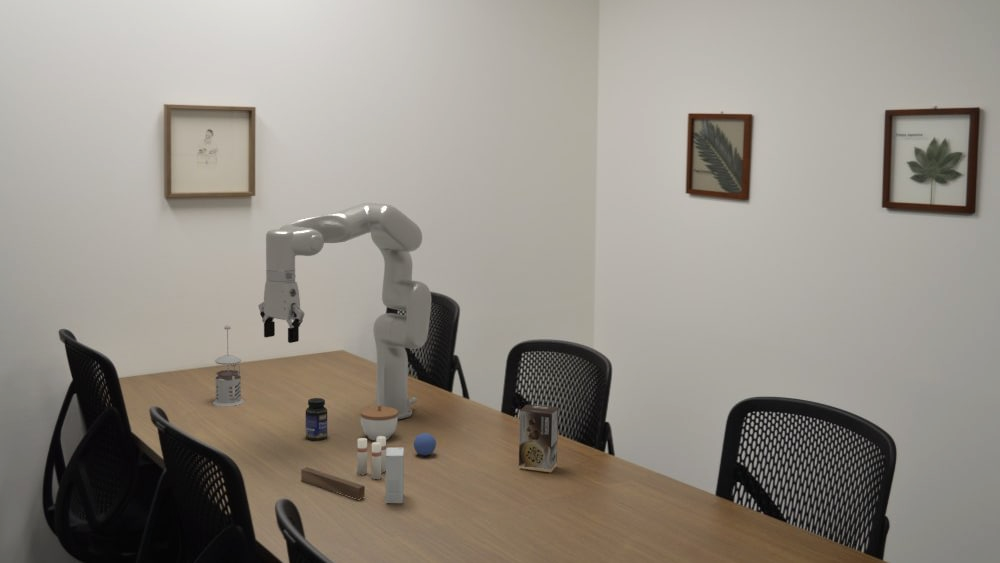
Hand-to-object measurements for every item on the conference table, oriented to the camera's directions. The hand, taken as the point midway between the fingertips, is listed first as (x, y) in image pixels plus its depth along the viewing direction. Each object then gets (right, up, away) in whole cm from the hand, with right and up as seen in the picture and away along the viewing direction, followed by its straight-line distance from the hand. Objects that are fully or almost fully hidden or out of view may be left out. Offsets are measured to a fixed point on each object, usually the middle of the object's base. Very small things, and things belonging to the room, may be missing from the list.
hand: (281, 339), depth 259 cm
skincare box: (+34, -37, -29) cm, 58 cm away
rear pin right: (+23, -34, -12) cm, 43 cm away
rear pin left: (+27, -34, -15) cm, 46 cm away
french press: (-28, -23, +50) cm, 61 cm away
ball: (+38, -29, +3) cm, 48 cm away
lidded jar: (+24, -29, +17) cm, 42 cm away
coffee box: (+69, -34, -4) cm, 77 cm away
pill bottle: (+6, -29, +16) cm, 34 cm away
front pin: (+28, -33, -10) cm, 45 cm away
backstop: (+18, -35, -24) cm, 46 cm away
